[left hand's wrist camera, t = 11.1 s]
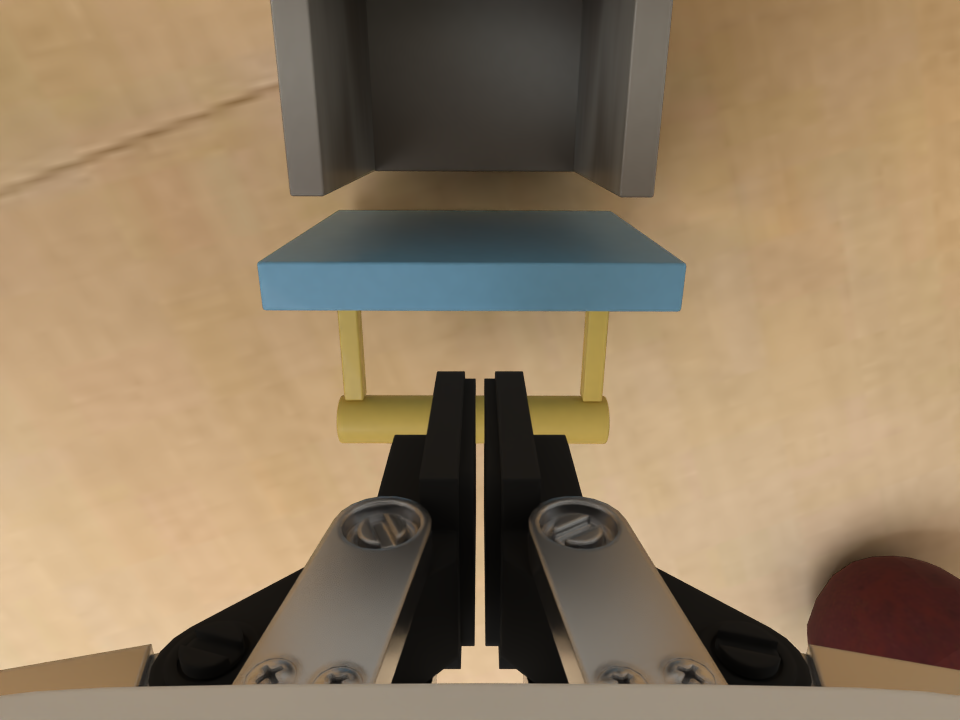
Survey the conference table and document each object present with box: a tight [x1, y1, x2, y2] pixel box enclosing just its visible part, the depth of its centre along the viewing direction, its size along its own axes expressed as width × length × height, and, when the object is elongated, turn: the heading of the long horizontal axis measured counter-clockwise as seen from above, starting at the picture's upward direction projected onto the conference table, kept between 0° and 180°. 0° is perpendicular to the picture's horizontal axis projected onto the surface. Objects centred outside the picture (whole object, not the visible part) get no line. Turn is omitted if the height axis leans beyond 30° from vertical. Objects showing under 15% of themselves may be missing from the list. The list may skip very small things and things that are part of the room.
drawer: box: [257, 0, 686, 444], centre depth 17 cm, size 22×10×9 cm, turn 0°
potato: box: [807, 556, 960, 670], centre depth 27 cm, size 7×8×7 cm
